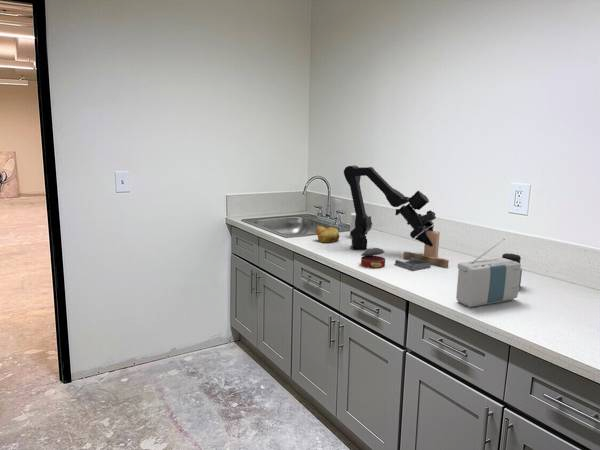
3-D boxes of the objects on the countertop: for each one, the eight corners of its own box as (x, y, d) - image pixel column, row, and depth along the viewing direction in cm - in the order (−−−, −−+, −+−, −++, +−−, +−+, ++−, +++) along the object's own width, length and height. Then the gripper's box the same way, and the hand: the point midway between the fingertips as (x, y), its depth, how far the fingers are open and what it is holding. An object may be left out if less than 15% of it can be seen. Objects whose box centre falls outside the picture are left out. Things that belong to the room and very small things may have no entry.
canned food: (362, 277, 194) (351, 256, 194) (370, 269, 203) (360, 248, 202) (386, 269, 188) (375, 246, 188) (393, 261, 197) (383, 239, 196)
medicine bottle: (517, 290, 166) (521, 257, 164) (496, 287, 170) (499, 254, 168) (520, 285, 172) (523, 253, 170) (499, 282, 176) (502, 250, 174)
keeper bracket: (394, 264, 197) (394, 260, 197) (411, 261, 203) (412, 257, 202) (412, 270, 188) (412, 266, 188) (430, 267, 194) (430, 262, 194)
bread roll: (334, 238, 246) (335, 223, 245) (345, 242, 238) (345, 226, 236) (313, 240, 240) (313, 224, 238) (323, 244, 232) (323, 228, 230)
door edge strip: (403, 258, 207) (403, 252, 206) (405, 257, 208) (406, 251, 208) (445, 268, 193) (446, 260, 193) (448, 267, 195) (448, 260, 194)
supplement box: (365, 239, 245) (366, 215, 243) (350, 238, 245) (351, 214, 243) (363, 236, 252) (364, 212, 250) (349, 235, 252) (350, 212, 250)
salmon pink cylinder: (423, 259, 207) (425, 232, 205) (426, 256, 211) (428, 230, 209) (435, 260, 205) (437, 233, 203) (437, 258, 209) (439, 231, 207)
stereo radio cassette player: (470, 310, 147) (476, 247, 143) (452, 301, 154) (457, 241, 150) (518, 301, 156) (525, 242, 152) (498, 293, 163) (504, 237, 159)
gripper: (419, 207, 198) (444, 236, 194) (430, 202, 214) (453, 229, 210) (400, 224, 203) (423, 252, 200) (412, 218, 219) (434, 244, 216)
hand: (434, 244), depth 206 cm, fingers open, 9 cm apart
